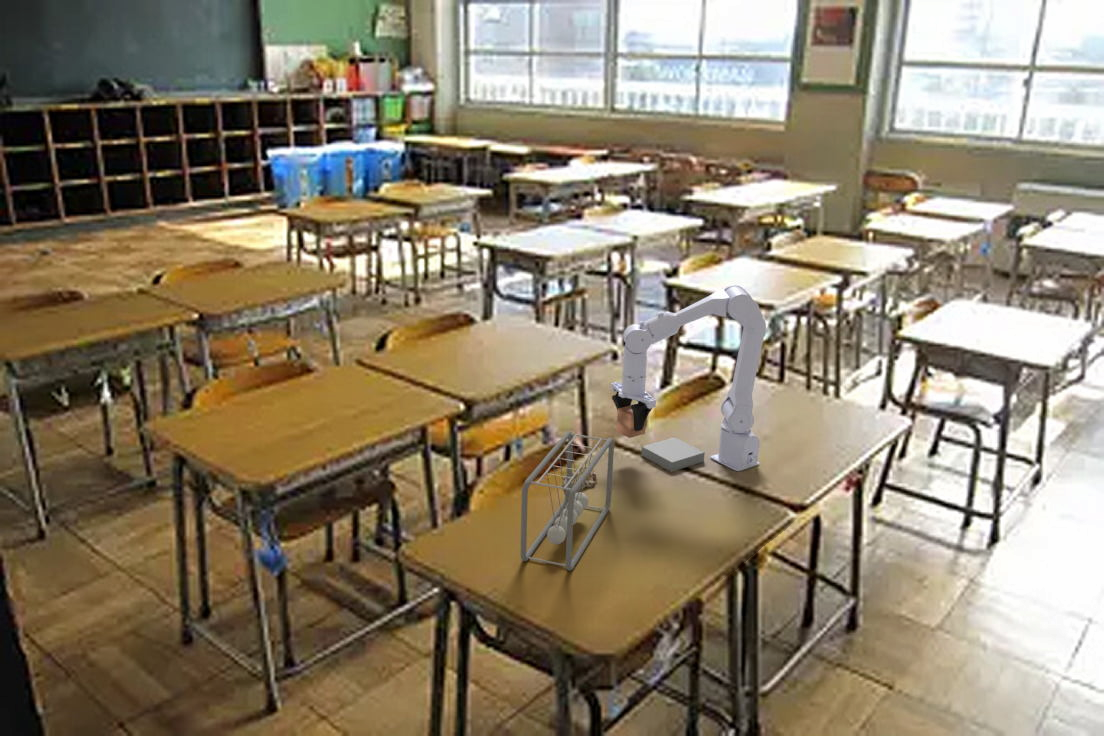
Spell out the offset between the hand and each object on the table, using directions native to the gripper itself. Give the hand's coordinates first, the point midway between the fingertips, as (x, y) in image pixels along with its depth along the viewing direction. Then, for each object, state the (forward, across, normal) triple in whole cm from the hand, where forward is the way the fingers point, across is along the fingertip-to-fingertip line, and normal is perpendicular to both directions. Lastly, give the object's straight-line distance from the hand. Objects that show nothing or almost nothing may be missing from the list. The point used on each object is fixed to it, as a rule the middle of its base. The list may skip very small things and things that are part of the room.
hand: (631, 426), depth 229 cm
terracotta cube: (+2, 0, 0) cm, 2 cm away
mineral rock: (+9, +4, -19) cm, 21 cm away
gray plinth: (+9, +6, +9) cm, 14 cm away
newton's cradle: (+9, +22, -35) cm, 43 cm away
